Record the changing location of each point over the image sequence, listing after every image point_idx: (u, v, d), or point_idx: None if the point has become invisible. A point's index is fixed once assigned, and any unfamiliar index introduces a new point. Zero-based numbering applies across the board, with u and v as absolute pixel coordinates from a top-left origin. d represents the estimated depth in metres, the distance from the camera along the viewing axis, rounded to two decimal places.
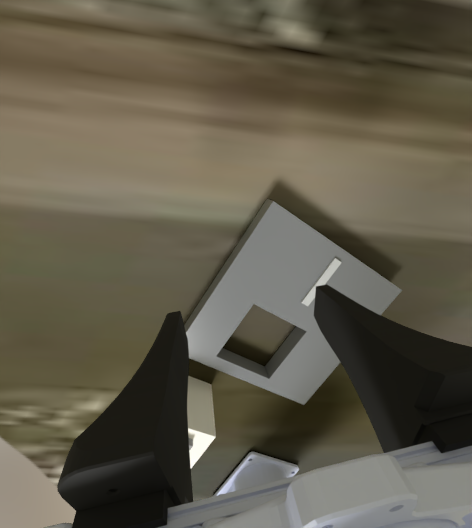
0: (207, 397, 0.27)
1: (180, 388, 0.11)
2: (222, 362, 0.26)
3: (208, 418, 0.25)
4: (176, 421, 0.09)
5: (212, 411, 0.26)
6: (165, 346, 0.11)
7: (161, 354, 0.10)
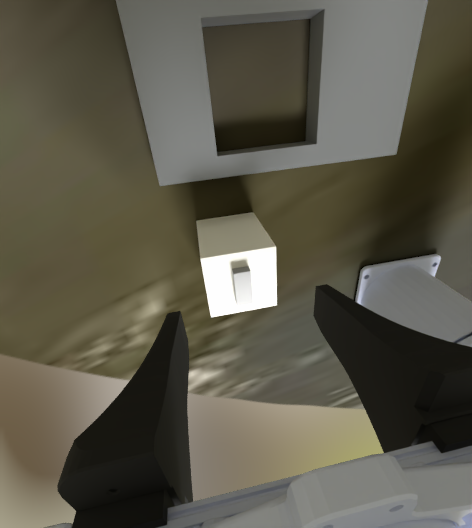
0: (251, 222, 0.19)
1: (180, 388, 0.11)
2: (232, 160, 0.17)
3: (259, 236, 0.17)
4: (176, 421, 0.09)
5: (262, 229, 0.18)
6: (165, 346, 0.11)
7: (161, 354, 0.10)
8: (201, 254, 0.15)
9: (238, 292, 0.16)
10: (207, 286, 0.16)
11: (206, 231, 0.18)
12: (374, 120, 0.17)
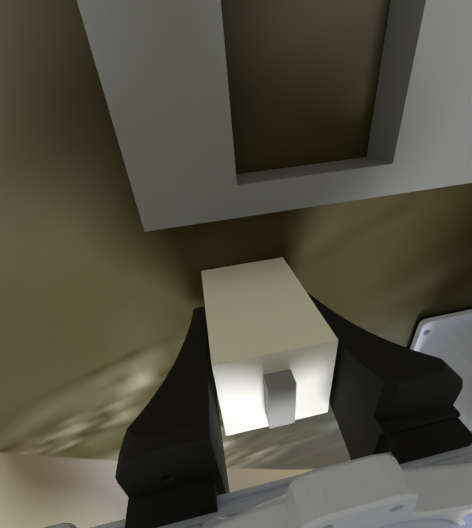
0: (284, 279, 0.12)
1: (212, 381, 0.11)
2: (261, 190, 0.10)
3: (303, 311, 0.10)
4: (215, 412, 0.09)
5: (305, 296, 0.11)
6: (198, 339, 0.11)
7: (196, 347, 0.10)
8: (212, 353, 0.09)
9: (272, 412, 0.10)
10: (222, 400, 0.10)
11: (218, 295, 0.12)
12: None
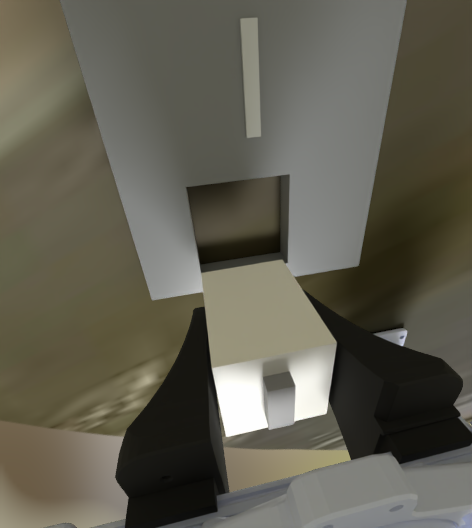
0: (284, 282, 0.13)
1: (212, 381, 0.11)
2: None
3: (302, 314, 0.11)
4: (215, 412, 0.09)
5: (305, 299, 0.11)
6: (198, 340, 0.11)
7: (196, 347, 0.10)
8: (213, 356, 0.09)
9: (272, 413, 0.10)
10: (222, 402, 0.10)
11: (218, 298, 0.12)
12: (337, 244, 0.20)
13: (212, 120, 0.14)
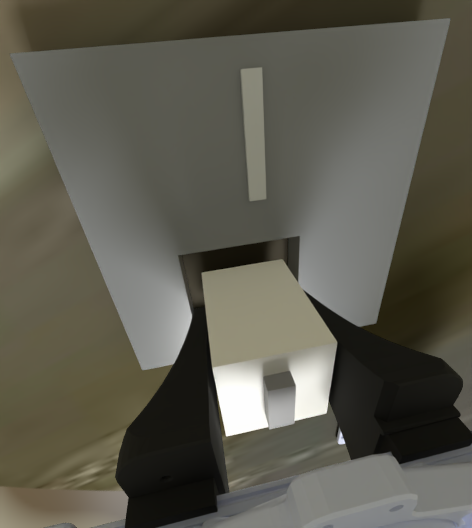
0: (284, 281, 0.13)
1: (212, 381, 0.11)
2: None
3: (303, 314, 0.11)
4: (215, 412, 0.09)
5: (305, 298, 0.11)
6: (198, 340, 0.11)
7: (196, 347, 0.10)
8: (213, 355, 0.09)
9: (272, 413, 0.10)
10: (222, 401, 0.10)
11: (218, 297, 0.12)
12: (353, 303, 0.17)
13: (208, 183, 0.12)
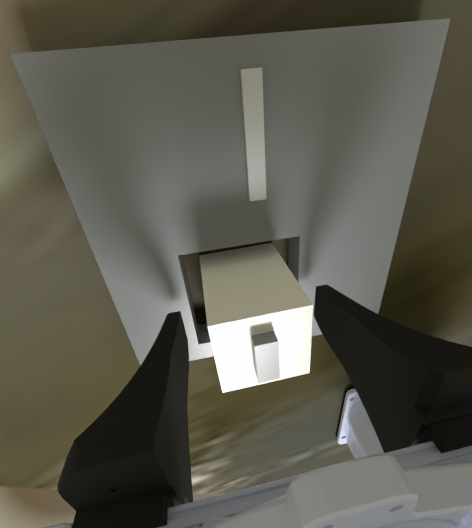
0: (272, 260, 0.14)
1: (180, 388, 0.11)
2: None
3: (285, 284, 0.12)
4: (176, 421, 0.09)
5: (289, 273, 0.13)
6: (165, 346, 0.11)
7: (161, 354, 0.10)
8: (208, 318, 0.11)
9: (260, 367, 0.11)
10: (217, 358, 0.12)
11: (214, 274, 0.14)
12: None
13: (208, 183, 0.12)
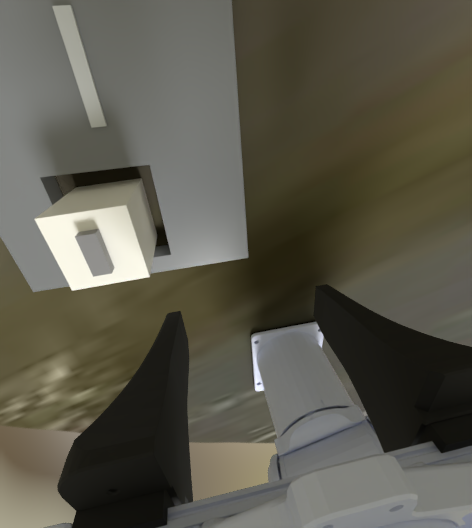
0: (128, 186, 0.17)
1: (180, 388, 0.11)
2: None
3: (120, 197, 0.15)
4: (176, 421, 0.09)
5: (131, 191, 0.16)
6: (165, 346, 0.11)
7: (161, 354, 0.10)
8: (40, 215, 0.13)
9: (88, 259, 0.14)
10: (55, 253, 0.14)
11: (73, 195, 0.16)
12: (219, 235, 0.20)
13: (51, 109, 0.14)
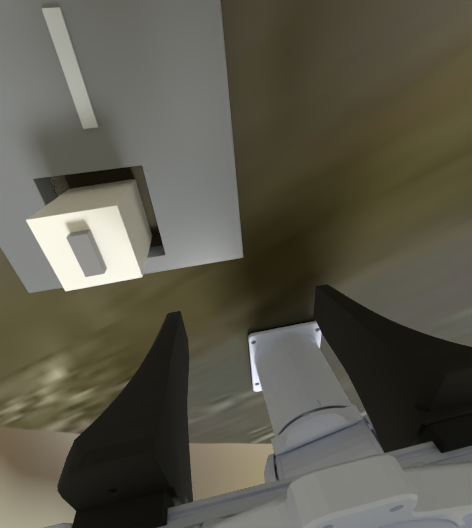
0: (120, 187, 0.17)
1: (180, 388, 0.11)
2: None
3: (112, 198, 0.15)
4: (176, 421, 0.09)
5: (123, 192, 0.16)
6: (165, 346, 0.11)
7: (161, 354, 0.10)
8: (32, 216, 0.13)
9: (80, 260, 0.14)
10: (47, 254, 0.14)
11: (66, 197, 0.16)
12: (214, 235, 0.20)
13: (42, 111, 0.14)
